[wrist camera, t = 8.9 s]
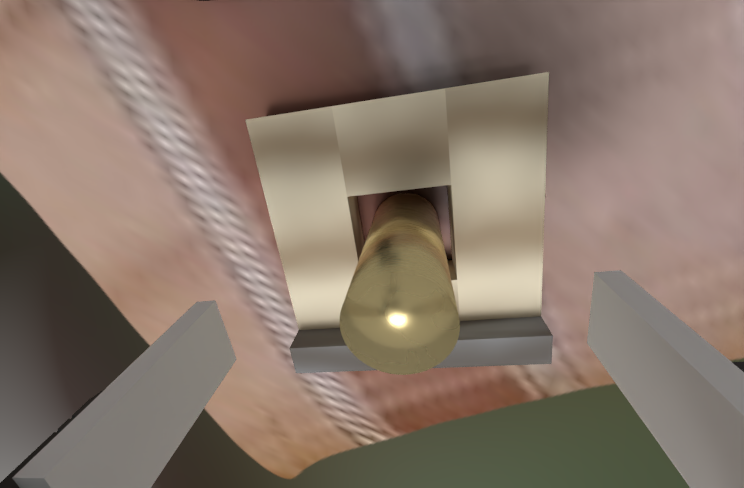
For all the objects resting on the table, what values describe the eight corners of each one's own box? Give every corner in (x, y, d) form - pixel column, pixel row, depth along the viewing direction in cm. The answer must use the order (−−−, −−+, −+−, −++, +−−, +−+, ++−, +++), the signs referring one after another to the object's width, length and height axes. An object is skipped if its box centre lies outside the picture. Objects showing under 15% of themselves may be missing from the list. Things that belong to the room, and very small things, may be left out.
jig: (266, 118, 22) (227, 121, 18) (529, 76, 20) (565, 67, 15) (315, 328, 28) (296, 373, 23) (526, 316, 25) (551, 363, 21)
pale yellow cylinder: (369, 196, 23) (329, 278, 12) (435, 188, 23) (456, 267, 12) (378, 256, 25) (350, 376, 14) (440, 250, 24) (463, 372, 13)
